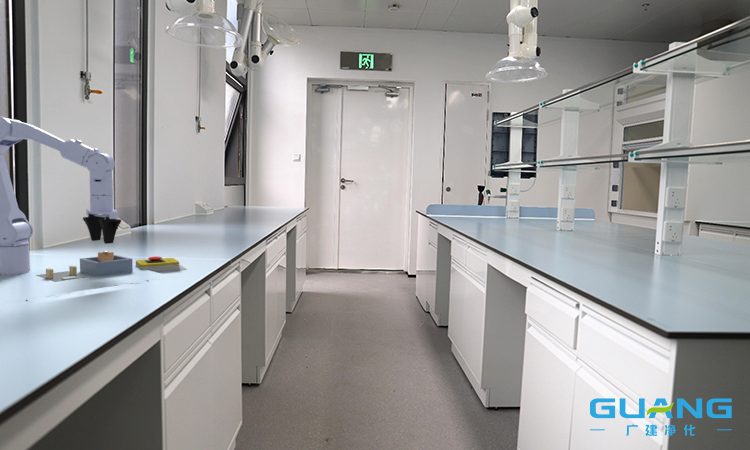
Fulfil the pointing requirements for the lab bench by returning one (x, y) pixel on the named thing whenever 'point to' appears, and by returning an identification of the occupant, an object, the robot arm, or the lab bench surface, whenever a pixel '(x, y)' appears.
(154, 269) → the emergency button
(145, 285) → the lab bench surface
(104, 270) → the grey open box
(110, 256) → the copper cell
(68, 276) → the checker cradle
